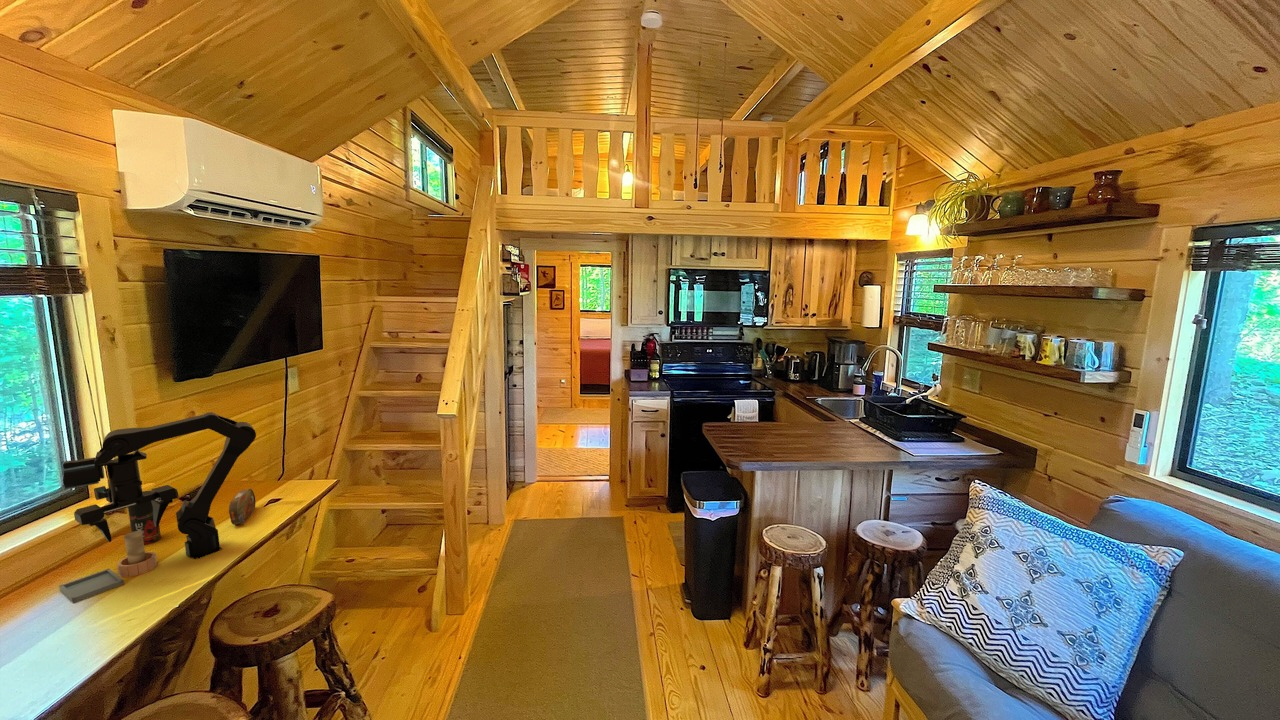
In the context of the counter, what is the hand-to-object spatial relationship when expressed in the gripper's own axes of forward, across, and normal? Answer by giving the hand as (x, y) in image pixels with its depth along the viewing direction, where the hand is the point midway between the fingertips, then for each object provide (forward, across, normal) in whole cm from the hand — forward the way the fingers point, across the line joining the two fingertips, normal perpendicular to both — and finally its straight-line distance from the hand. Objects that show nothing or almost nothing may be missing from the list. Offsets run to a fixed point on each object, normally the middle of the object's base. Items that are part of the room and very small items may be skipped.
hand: (133, 533), depth 136 cm
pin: (+10, 0, 0) cm, 10 cm away
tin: (+11, -29, -11) cm, 33 cm away
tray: (+11, +9, +1) cm, 14 cm away
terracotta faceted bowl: (+11, 0, 0) cm, 11 cm away
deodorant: (+11, -7, -17) cm, 21 cm away
